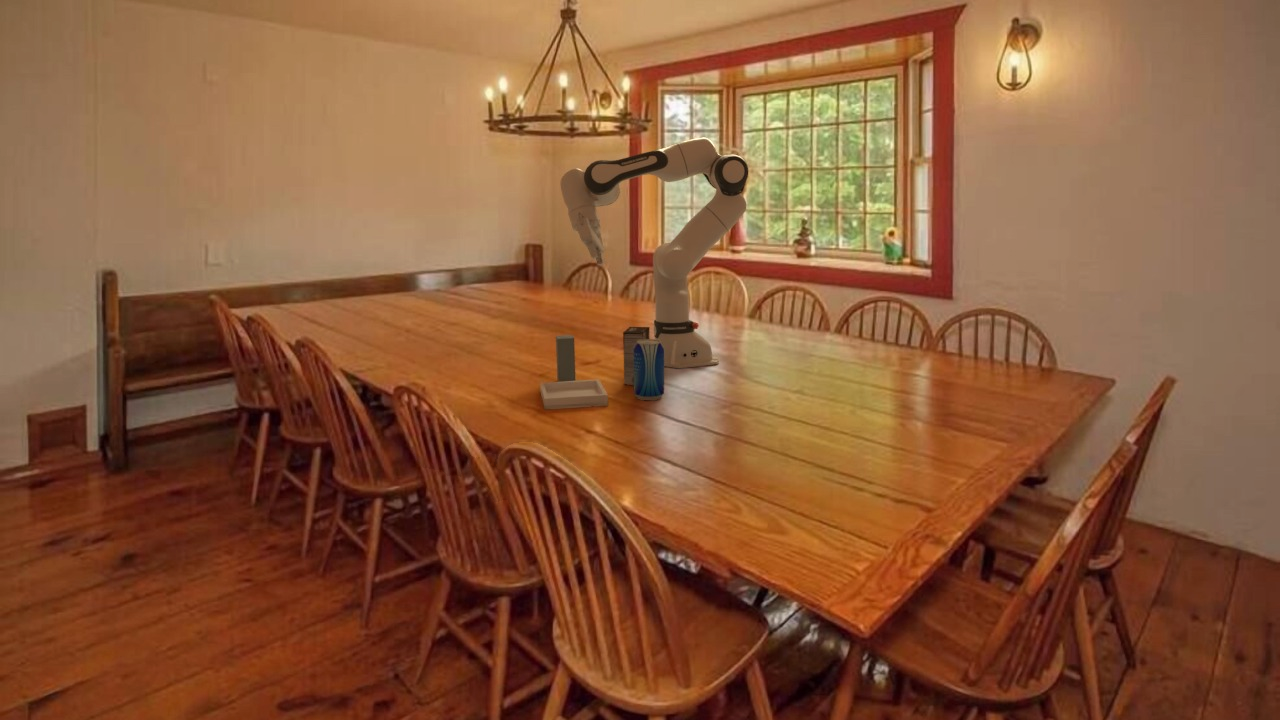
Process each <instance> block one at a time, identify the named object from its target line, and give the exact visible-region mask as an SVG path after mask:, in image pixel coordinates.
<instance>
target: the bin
mask: <svg viewBox="0 0 1280 720" xmlns="http://www.w3.org/2000/svg"><path fill="white" fill-rule="evenodd" d="M539 387H540V388H539V389H540V395H541V400H542V403H543V407H544V408H543V409H544V410H546V411H547V410H560V409H576V408H589V407H590V408H591V406H594V407H604V406H605V407H606V406H609V398H608V397H609V395H608V393H607V391H606V389H605V388H604V385H602V382H601V380H600V379H599V378H598V379H587V380H586V379H583V380H575V381H563V382H558V381H549V382H540V383H539Z"/></svg>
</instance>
